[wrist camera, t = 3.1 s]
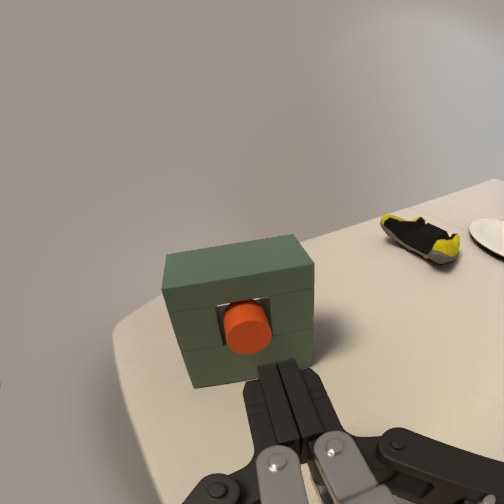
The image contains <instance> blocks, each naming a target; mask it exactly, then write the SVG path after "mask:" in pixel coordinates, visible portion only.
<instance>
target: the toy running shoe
mask: <svg viewBox="0 0 504 504" xmlns="http://www.w3.org/2000/svg"><path fill="white" fill-rule="evenodd" d="M380 225H381V227H382V229H383V230H384V231H385V233H386V234H387V235H388V236H390V237H391V238H393V239H394V240H396V241H398V242H399V243H400V244H401V245H403V246H405V248H406V249H407V250H408V251H411V252H416V253H418V254H420V255H422V256H423V258H425V259H427V258H428V259H431V260H433V261H434V262H436V263H438V264H443V263H446V262H449V261H453V260H455V259H456V257H457V255H458V251H459V245H460V235H459V234H452V236H451V237H449V235H448V234H447V232H446V231H444V230H442V229H440V228H438V227H436V226H434V225H431V224H429V223H427V224H426V225H425V219H424V218H422V217H418V218H415V219H414V220H412V221H405V220H403V219H401V218H398V217H396V216H394V215H383V217H382V219H381V222H380Z"/></svg>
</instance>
